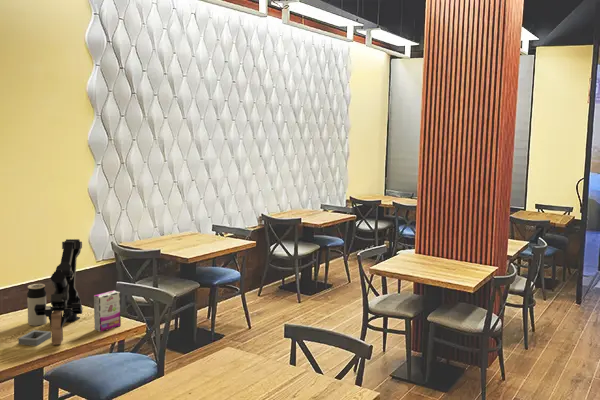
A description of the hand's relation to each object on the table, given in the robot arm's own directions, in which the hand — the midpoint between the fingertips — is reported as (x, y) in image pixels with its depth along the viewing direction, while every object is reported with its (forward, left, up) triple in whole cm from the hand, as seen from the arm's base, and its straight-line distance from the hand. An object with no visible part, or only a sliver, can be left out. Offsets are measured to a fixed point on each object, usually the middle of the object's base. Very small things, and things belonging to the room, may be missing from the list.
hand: (56, 327), depth 245 cm
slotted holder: (-2, -12, -8) cm, 14 cm away
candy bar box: (-24, +10, -8) cm, 28 cm away
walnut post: (-1, -1, -7) cm, 7 cm away
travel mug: (-22, -24, -8) cm, 33 cm away
